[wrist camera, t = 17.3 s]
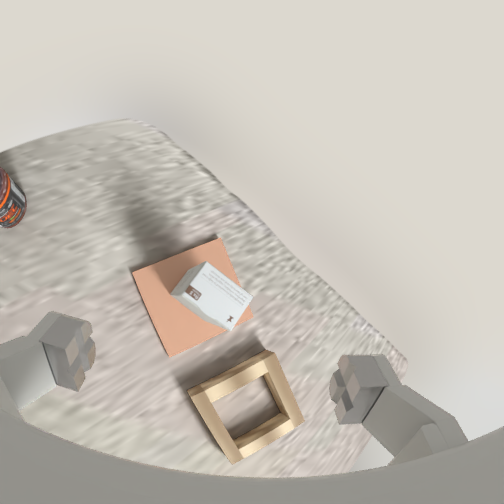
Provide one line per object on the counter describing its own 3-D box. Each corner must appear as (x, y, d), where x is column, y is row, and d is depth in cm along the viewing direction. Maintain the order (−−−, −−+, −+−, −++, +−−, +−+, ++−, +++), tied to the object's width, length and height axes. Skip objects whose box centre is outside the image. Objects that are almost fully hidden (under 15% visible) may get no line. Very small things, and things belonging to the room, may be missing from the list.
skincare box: (222, 295, 40) (258, 295, 29) (203, 322, 38) (233, 333, 27) (186, 268, 38) (208, 256, 27) (166, 295, 37) (180, 295, 26)
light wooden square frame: (225, 455, 37) (232, 464, 34) (186, 390, 36) (190, 397, 34) (295, 415, 42) (304, 421, 39) (265, 349, 42) (275, 352, 39)
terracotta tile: (168, 356, 36) (169, 357, 36) (132, 272, 36) (132, 272, 35) (251, 316, 42) (253, 317, 41) (218, 238, 41) (220, 237, 41)
